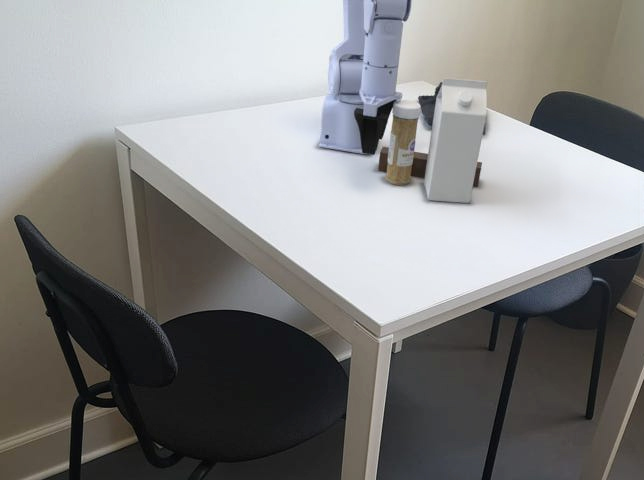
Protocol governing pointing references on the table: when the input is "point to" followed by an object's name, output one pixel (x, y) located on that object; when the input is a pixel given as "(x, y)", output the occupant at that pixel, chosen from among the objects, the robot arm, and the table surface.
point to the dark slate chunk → (431, 106)
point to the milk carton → (455, 140)
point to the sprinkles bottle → (402, 141)
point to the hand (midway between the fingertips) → (372, 145)
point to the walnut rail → (419, 165)
